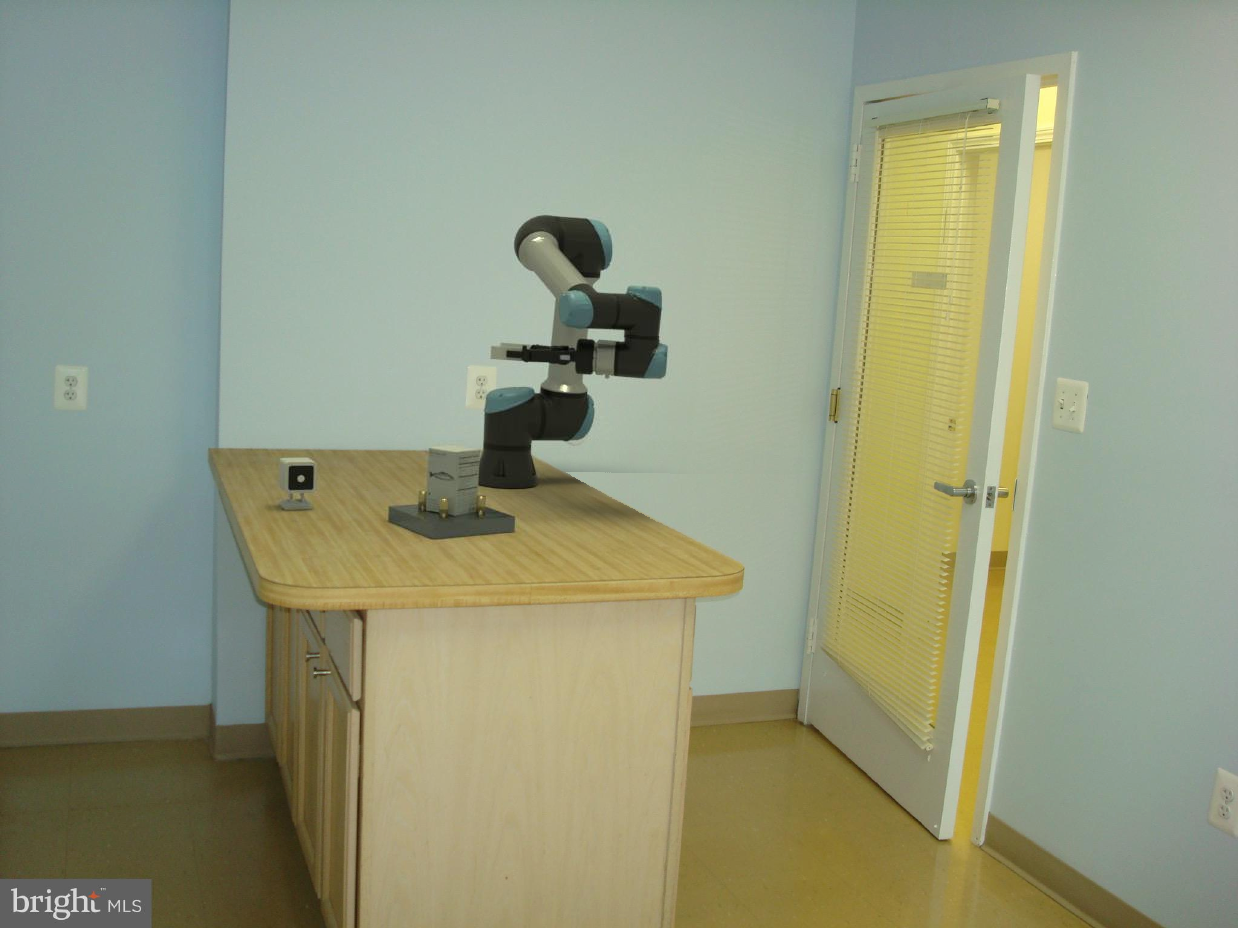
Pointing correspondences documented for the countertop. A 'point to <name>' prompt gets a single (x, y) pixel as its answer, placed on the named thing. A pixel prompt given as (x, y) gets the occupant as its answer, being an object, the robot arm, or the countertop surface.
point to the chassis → (450, 519)
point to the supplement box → (453, 478)
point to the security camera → (297, 481)
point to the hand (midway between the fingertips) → (495, 350)
